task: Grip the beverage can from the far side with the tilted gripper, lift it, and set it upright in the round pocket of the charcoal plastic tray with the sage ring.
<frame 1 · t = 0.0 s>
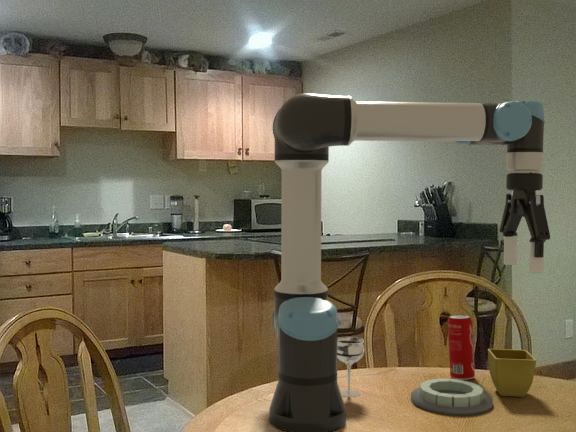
hand: (522, 268, 148), 28 cm above the table, tool pointing down, fingers open, 13 cm apart
wineglass: (348, 394, 149), on the table
can tray: (451, 401, 143), on the table
flower pot: (510, 394, 149), on the table
beverage can: (460, 378, 161), on the table
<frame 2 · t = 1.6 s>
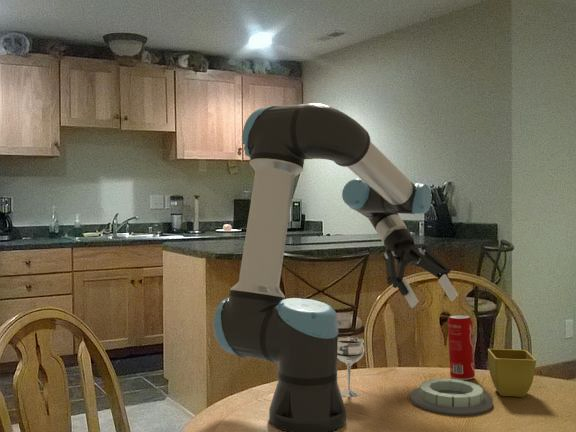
hand: (435, 301, 167), 17 cm above the table, tool tilted 45°, fingers open, 13 cm apart
nothing on the table moved.
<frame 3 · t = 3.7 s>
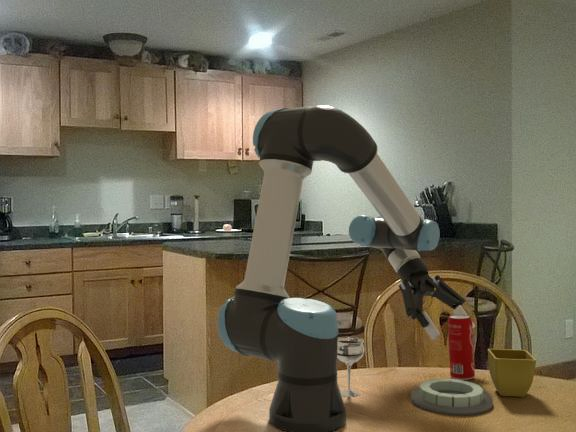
hand: (454, 333, 164), 10 cm above the table, tool tilted 45°, fingers open, 13 cm apart
nothing on the table moved.
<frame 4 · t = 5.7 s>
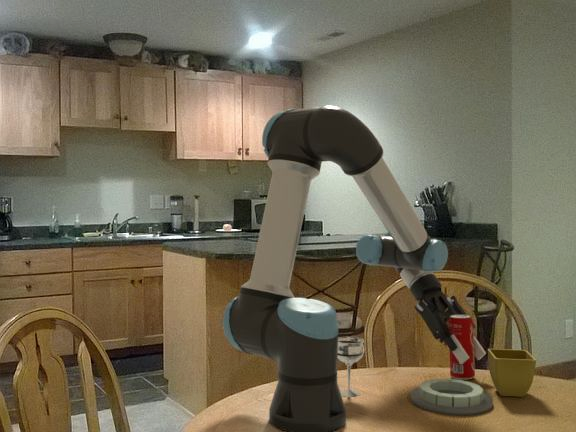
hand: (473, 358, 158), 5 cm above the table, tool tilted 45°, fingers closed on beverage can, 6 cm apart
beverage can: (460, 378, 161), on the table, touching gripper
everything else where it was.
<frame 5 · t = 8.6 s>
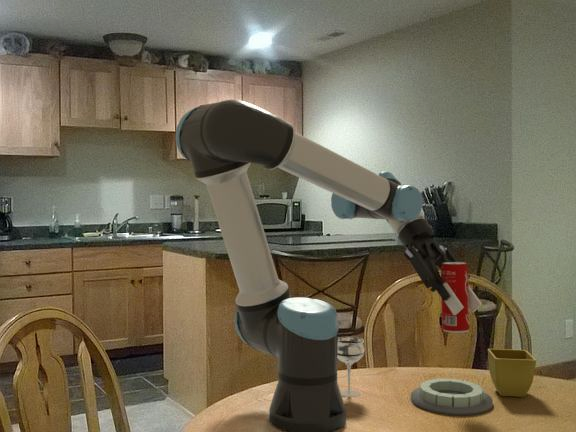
hand: (468, 309, 141), 20 cm above the table, tool tilted 45°, fingers closed on beverage can, 6 cm apart
beverage can: (453, 332, 145), point 15 cm above the table, touching gripper
everything else where it was.
when the fingers open (7 cm above the table, at t = 11.6 s): beverage can moves 1 cm, resting on can tray.
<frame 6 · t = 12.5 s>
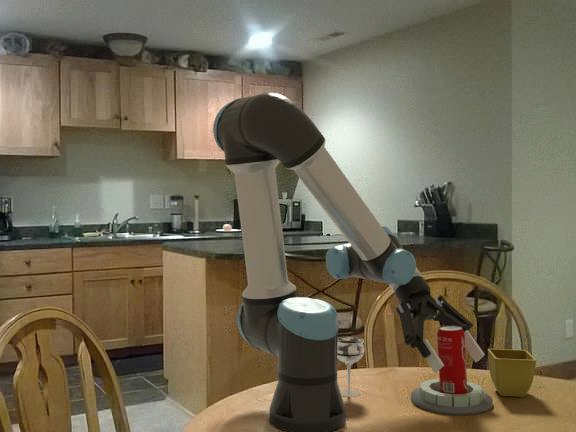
hand: (460, 363, 141), 9 cm above the table, tool tilted 45°, fingers open, 13 cm apart
beverage can: (451, 397, 144), point 1 cm above the table, touching can tray
everything else where it was.
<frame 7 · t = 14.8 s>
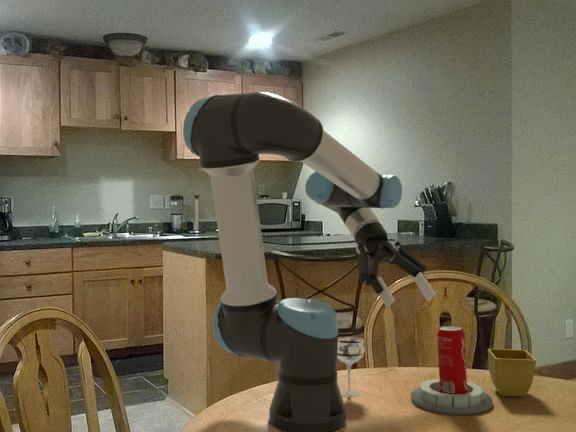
hand: (411, 300, 152), 20 cm above the table, tool tilted 45°, fingers open, 13 cm apart
nothing on the table moved.
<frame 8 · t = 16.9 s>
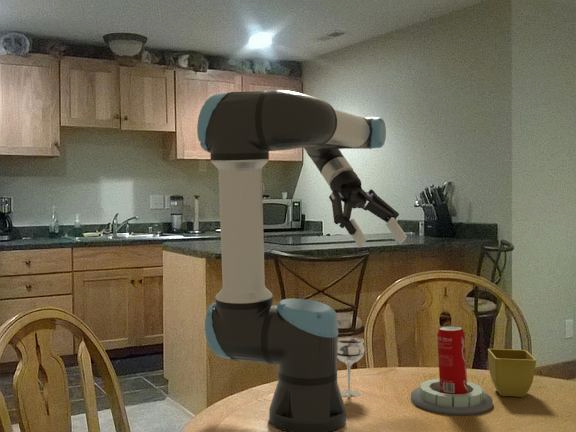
hand: (383, 242, 160), 33 cm above the table, tool tilted 45°, fingers open, 13 cm apart
nothing on the table moved.
at the end: beverage can 0.4 cm off-centre on the can tray, point 0.8 cm above the can tray's base; beverage can tilted 0°; the gripper is holding nothing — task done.
